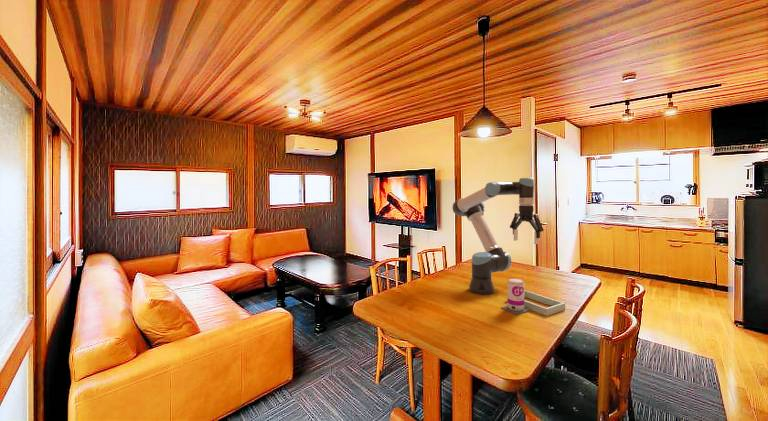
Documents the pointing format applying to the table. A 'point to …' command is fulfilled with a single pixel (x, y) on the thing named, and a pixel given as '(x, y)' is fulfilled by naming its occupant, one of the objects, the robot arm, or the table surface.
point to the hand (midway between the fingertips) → (525, 242)
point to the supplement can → (515, 294)
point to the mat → (516, 311)
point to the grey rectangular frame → (555, 305)
